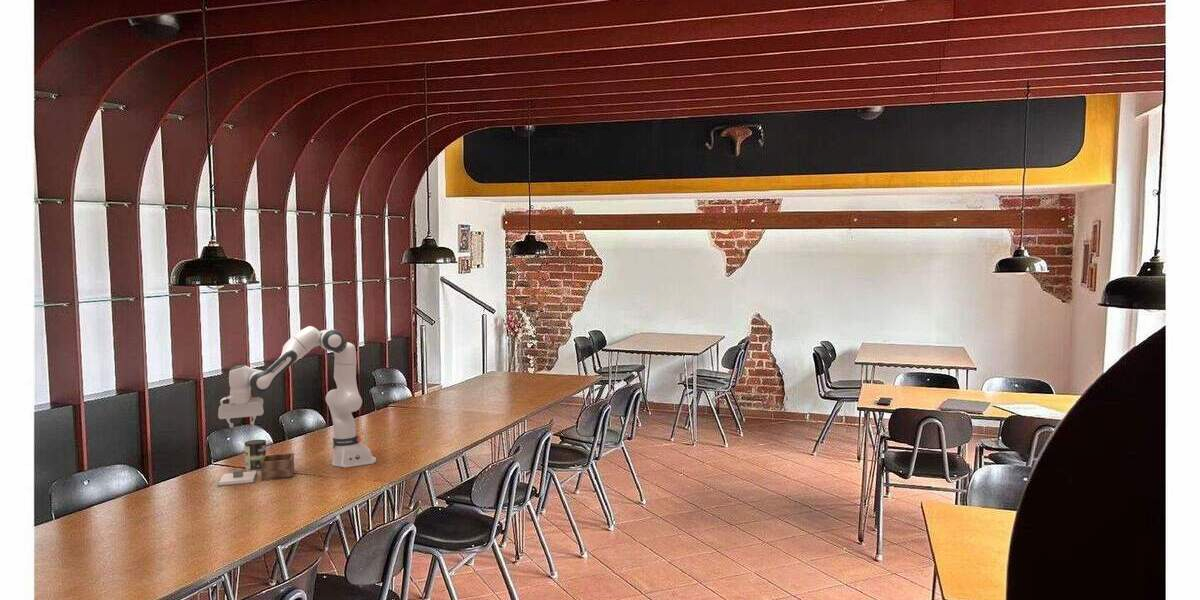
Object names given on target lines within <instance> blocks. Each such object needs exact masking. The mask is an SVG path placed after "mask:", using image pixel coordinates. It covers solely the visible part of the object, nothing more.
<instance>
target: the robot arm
mask: <svg viewBox="0 0 1200 600" xmlns="http://www.w3.org/2000/svg"><path fill="white" fill-rule="evenodd" d="M315 347H319V348H321V349H323V350H326V351H331V352H333V354H334V355H333V356H334V365H333V379H334V381H335V382H334V383H335V384H336V388H333V389H331V390H329V391H328V392H327V393H326V395H325V402H326V404H327V406H328V408H329V411H330V415H331V420H332V427H333V437H332V448H333V455H332V461H331V466H333V467H340V468H352V467H353V468H354V467H361V466H366V465H373V464H375V463H376V462H377V457H375V456H373V455H372V450H371V448H369V447H368V446H366V445H365V444H363V443H362V442H361V441H362V440H361V437H360V436H359V435H356V434H357V433H356V432H357V431H356V420H355V418H354V416H353V413H354V412H357V411H359V410H360V409H361V407H362V405H363V399H362V397H361V395H360V393H359V389H358V384H357V383H358V382H357V351H356V346H355V344H354V343H352V342H349V341H346V339H345V337H344V335H343V334H342V333H341V332H340V331H339V330H336V329H335V328H327V329H326V328H325V329H321V330H319V329H318V328H316V327H315V326H312V325H309V326H306V327H304V328H302V329H301V330H299V331H298V332H296V333H295V334H294V335H292V336H291V337H290V338H289V339H287V341H286V342H285V343H284V345H283V346H282V350H281V355H280V356H279V357H278V359H277V360H275V361H274V363H272V364H271V365H270V366H269V367H268V368H267V369H266V370H261V369H256V368H253V367H250V366H248V365H246V364H239V365H235V366H233V367H231V369H230V370H229V373H228V384H229V387H230V388H229V395H227V396H225V397H223V398H221V399H220V400H219V403H220V405H219V407H218V410H217V411H218V412H217V418H218V419H219V420H226V422H227V423H228V425H229V428H234V422H231V419H236V418H237V419H238V418H249V417H252V419H253V420H251V421H250V426H255V421H256V418H257V416H258V417H261V416H262V415H264V407H263V406H264V398H262V397H261V396H257V397H256V396H253V397H252V396H251V394H250V392H251V391H250V390H252V391H253V392H255V393H258V394H265V393H267V392H269V391H270V390H271V389H272V387H273V385H274V383H275V381H276V380H277V379H278V378H279V377H280V376H281V375H282V374H283V373H284V372H285V371H286V370H287V369H288V368H289V367H291V366H292V365H293V364H294V363H296V362H297V361H298V360H300V359H301V358H303V357H304V356H305V355H307V354H308V353H309V352H310V351H311V350H312V349H314V348H315Z"/></svg>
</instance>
